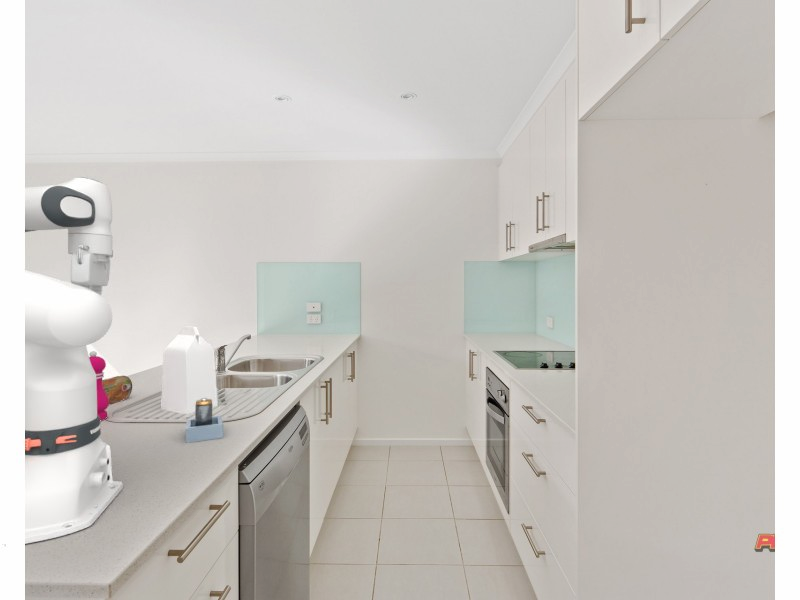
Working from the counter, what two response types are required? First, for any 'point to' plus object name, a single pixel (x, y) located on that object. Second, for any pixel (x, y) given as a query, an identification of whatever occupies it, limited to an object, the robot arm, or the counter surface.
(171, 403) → the milk
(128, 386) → the tin
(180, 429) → the counter surface
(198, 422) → the cell
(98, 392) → the pepper mill
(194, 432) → the light blue square tray
